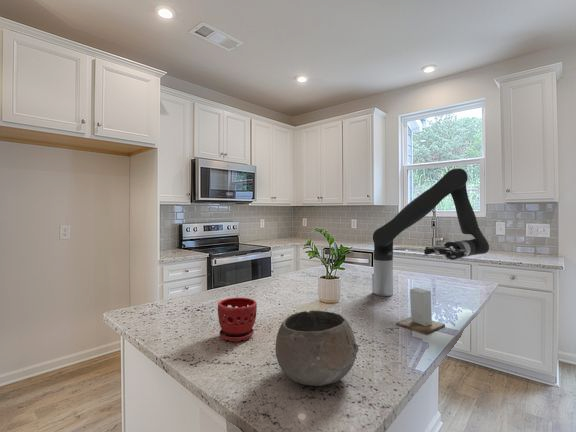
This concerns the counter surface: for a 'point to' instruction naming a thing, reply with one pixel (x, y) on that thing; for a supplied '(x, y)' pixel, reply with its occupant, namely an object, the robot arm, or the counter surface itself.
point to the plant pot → (237, 318)
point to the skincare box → (421, 306)
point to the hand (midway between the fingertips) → (435, 253)
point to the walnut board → (420, 326)
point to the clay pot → (315, 347)
